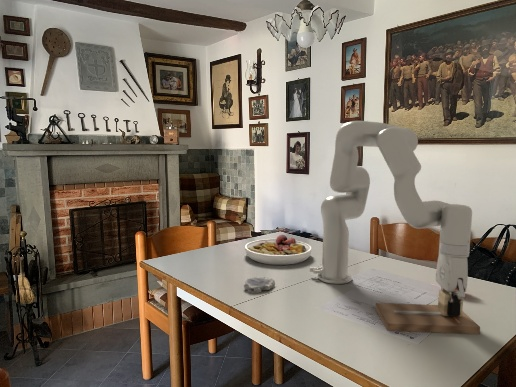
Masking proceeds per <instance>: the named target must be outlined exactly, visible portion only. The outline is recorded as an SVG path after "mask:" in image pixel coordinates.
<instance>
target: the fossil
mask: <svg viewBox="0 0 516 387" xmlns="http://www.w3.org/2000/svg"><path fill="white" fill-rule="evenodd" d="M275 281H276V280H274V279H273V278H269V277H257V276H256V277H254V276H253V277H247V279H246V280H245V282H244V284H243V287H244V290H245V291H248V292H247V293H250V294H258V293H262V291H269V290H271V289H274V288H275V286H276V282H275Z"/></svg>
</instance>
